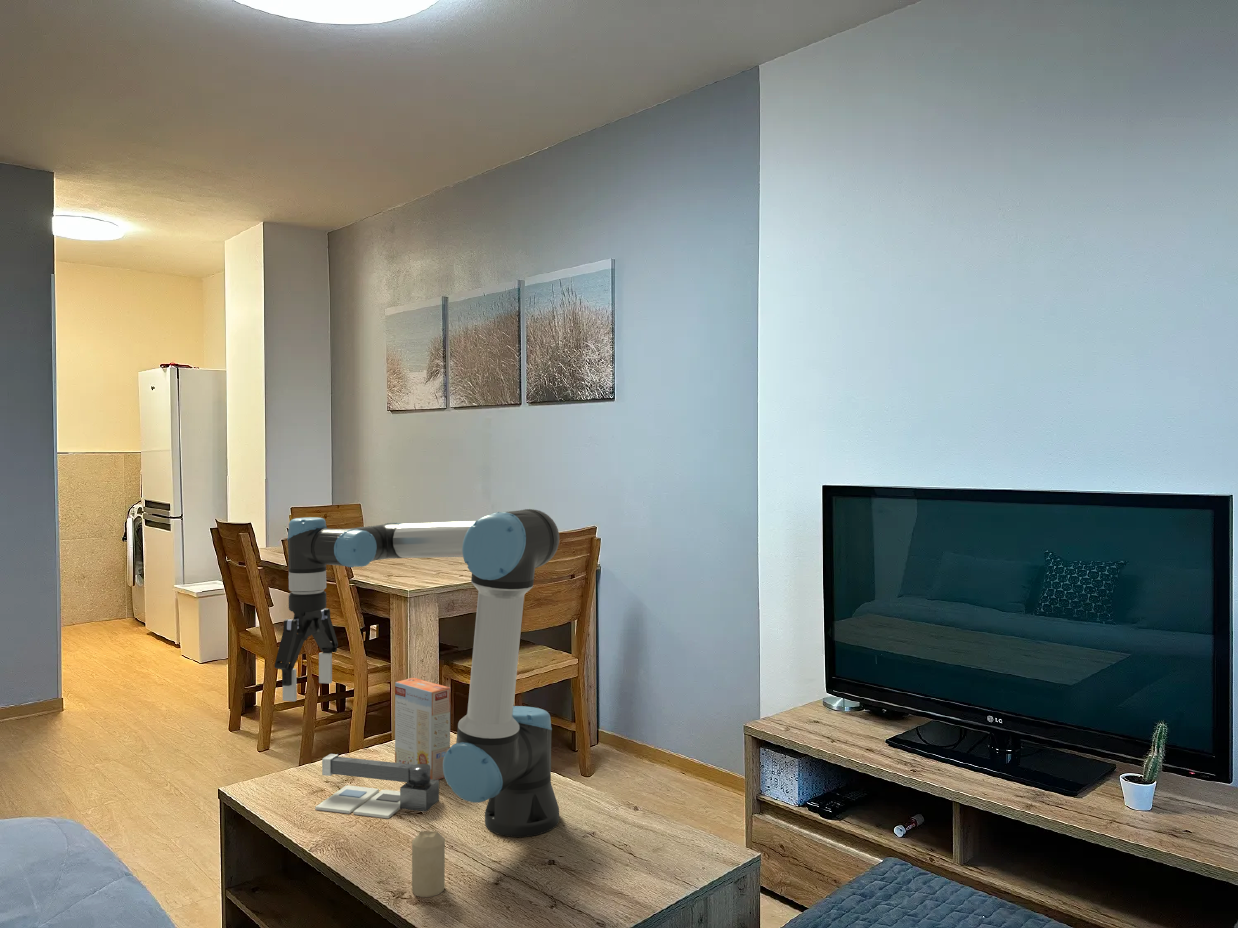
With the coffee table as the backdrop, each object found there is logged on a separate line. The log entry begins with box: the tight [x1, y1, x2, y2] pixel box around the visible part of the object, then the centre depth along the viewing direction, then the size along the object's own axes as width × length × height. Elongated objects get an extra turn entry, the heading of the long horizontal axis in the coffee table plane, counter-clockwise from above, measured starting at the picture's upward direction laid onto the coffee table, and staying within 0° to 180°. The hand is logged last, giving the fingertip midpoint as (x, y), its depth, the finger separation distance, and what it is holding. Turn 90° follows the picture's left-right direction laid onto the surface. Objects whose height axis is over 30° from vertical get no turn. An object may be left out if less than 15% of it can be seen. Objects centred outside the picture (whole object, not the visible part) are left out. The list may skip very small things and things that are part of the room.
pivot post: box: [399, 779, 440, 813], centre depth 187 cm, size 6×6×4 cm
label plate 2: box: [353, 788, 401, 819], centre depth 187 cm, size 8×12×1 cm, turn 166°
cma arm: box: [321, 753, 430, 785], centre depth 190 cm, size 25×4×4 cm, turn 76°
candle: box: [411, 830, 446, 898], centre depth 152 cm, size 6×6×10 cm
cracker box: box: [394, 677, 451, 780], centre depth 206 cm, size 14×6×21 cm, turn 50°
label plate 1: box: [314, 784, 380, 814], centre depth 189 cm, size 8×12×1 cm, turn 166°
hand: (308, 691), depth 185 cm, fingers open, 13 cm apart
